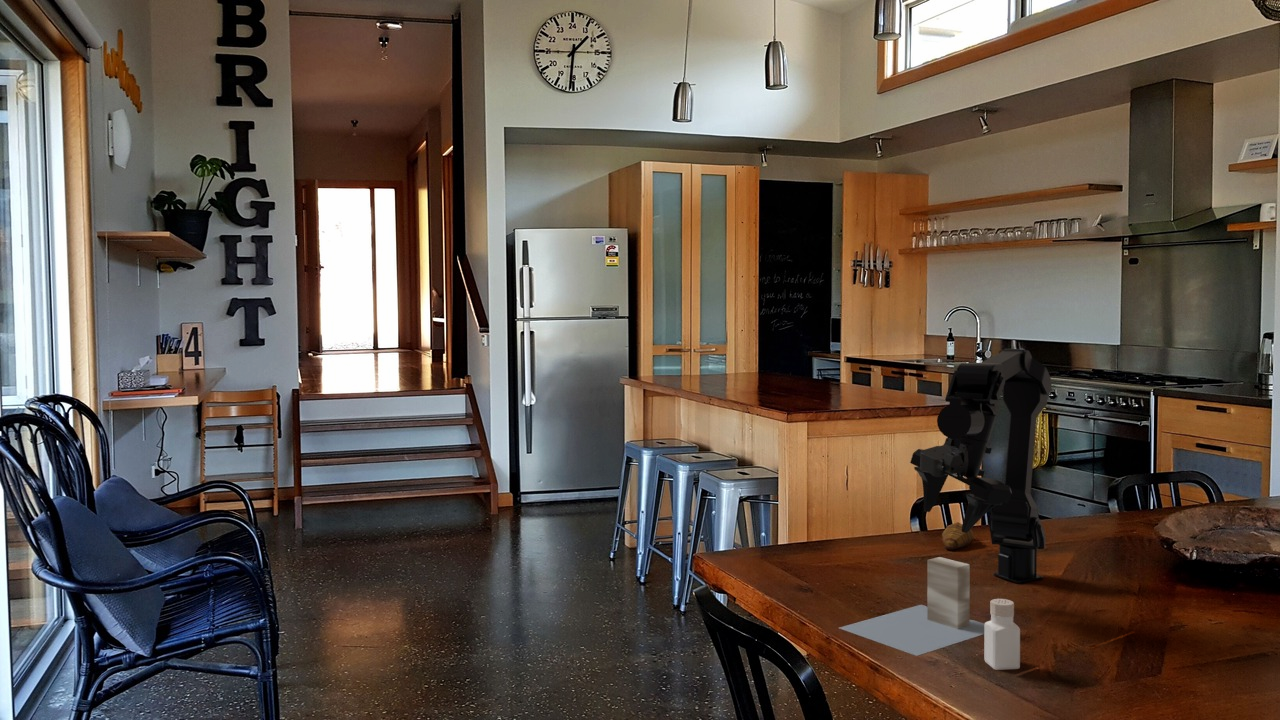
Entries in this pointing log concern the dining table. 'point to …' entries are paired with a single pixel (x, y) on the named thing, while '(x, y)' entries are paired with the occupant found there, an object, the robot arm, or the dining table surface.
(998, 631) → the pepper shaker
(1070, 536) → the dining table surface
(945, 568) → the beige streaked block
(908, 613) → the mat
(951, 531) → the croissant
